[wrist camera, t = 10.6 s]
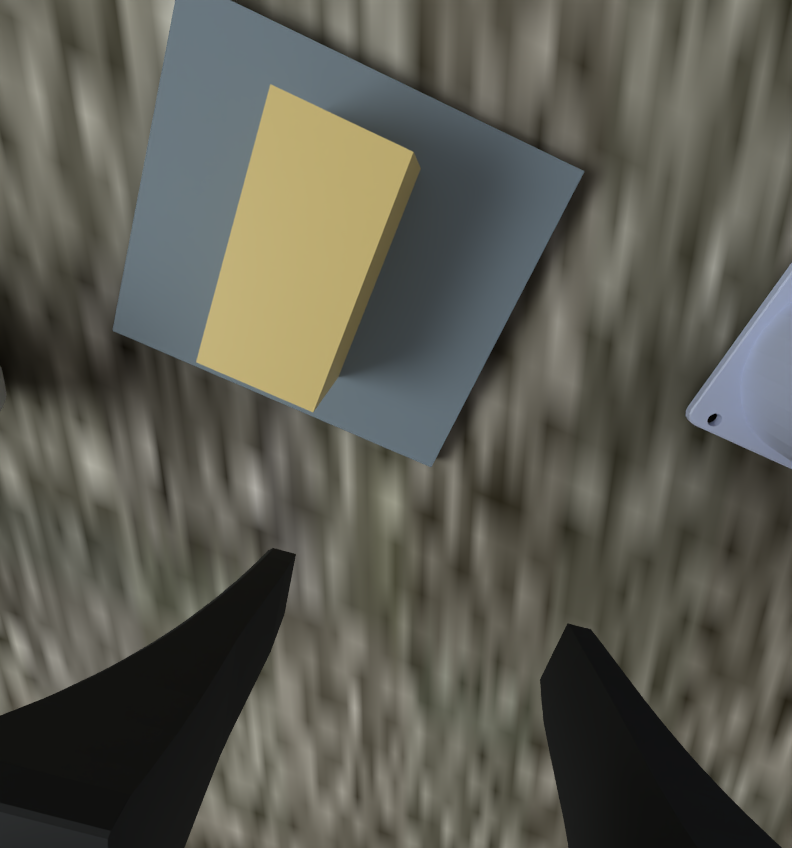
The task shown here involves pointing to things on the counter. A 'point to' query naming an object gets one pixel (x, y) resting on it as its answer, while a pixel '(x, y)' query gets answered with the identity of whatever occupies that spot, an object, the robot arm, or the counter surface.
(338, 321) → the yellow rectangular block
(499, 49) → the counter surface
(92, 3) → the counter surface
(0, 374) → the donut
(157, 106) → the mat
